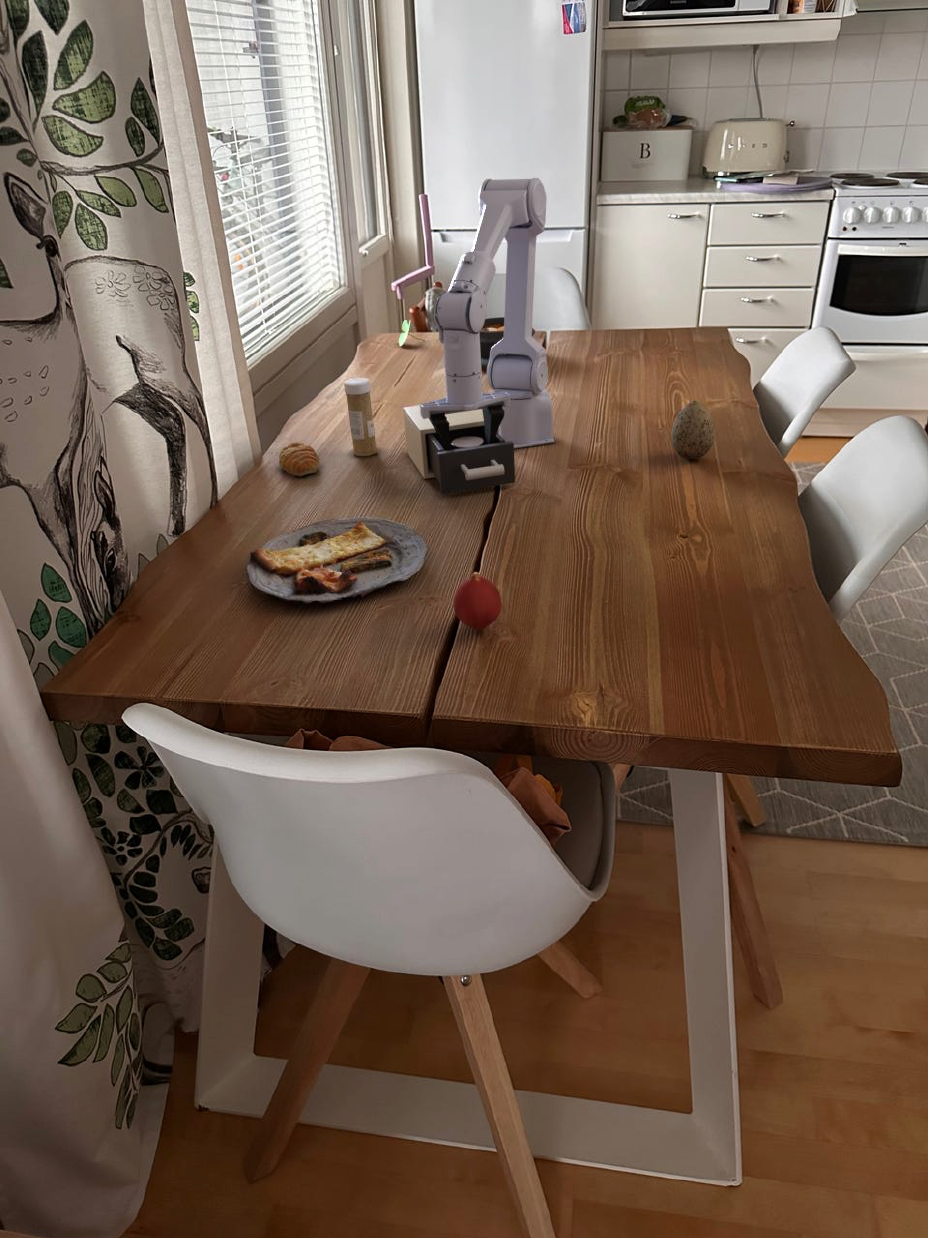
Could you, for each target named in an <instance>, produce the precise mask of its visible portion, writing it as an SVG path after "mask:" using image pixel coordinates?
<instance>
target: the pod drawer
mask: <svg viewBox="0 0 928 1238" xmlns="http://www.w3.org/2000/svg"><path fill="white" fill-rule="evenodd" d="M499 434H500V433H499ZM499 434H498V433H497V434H496V438H495V442H494V444H488V445H485V426H484V425H483V426H476V427H469V428H463V429H456V430H449V443H450V450H449V451H444V449H443V447H442V446H441V443H440V440H439V437H438V435H437V433H436V432H435V433H429V434H425V435H426V447H427V459H428V467H429V468H430V470H431V471H432V473H433V474H434V476H435V477H434V478H436V480H437V482H438V483H439V492H440V494H441V495H449V494H454V493H460V492H466V491H472V490H473V491H474V490H478V489H485V488H491V487H498V486H503V485H510V484H515V483H516V471H515V467H516V466H515V465H516V464H515V448H514V443H513V442H512V441H508V442H505V440H504V439H503V438H502V437H501V436H500V435H499ZM469 436H472V437H479V438H482V439H483V440H484V443H483V445H481V446H475V447H468V448H462V449H456V447H454V446H453V445H452V442H453V440H455V439H457V438H461V437H469Z"/></svg>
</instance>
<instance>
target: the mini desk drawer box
mask: <svg viewBox="0 0 928 1238" xmlns="http://www.w3.org/2000/svg"><path fill="white" fill-rule="evenodd" d="M402 409H403V410H402V411H403V421H404V430H405V432H404V433H405V441H406V452H407V455H408V457H409V458H410V459H411V461H412V462H413V464H414V465H415V467H416V469H417V470H418V472H419V473H420V474H421V476H422V477H423V479H432V478H436V477H435V476H434V474H433V473H432V471H431V470H430V468H429V467H428V459H427V447H426V435H425V434H429V433H435V432H436V431H435V429H434V427H433V425H432V423H431V421H430V420H429V418H427V419H423V418H422V416H421V412H420V404H419V405H412V406H406V407H403V408H402ZM445 416H446V417H447V421H448V422H449V430H456V429H463V428H469V427H476V426H483V425H484V418H483V411H482V409H480V410H473V411H466V412H459V413H452V414H445ZM497 433H498V434H500V428H499V429H498V431H497Z"/></svg>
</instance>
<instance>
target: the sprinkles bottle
mask: <svg viewBox="0 0 928 1238" xmlns="http://www.w3.org/2000/svg"><path fill="white" fill-rule="evenodd" d="M343 386H344V387H343V388H344V393H345V395H346V402H347V403H346V404H347V413H348V421H349V429H350V436H351V437H350V438H351V440H352V441H351V442H352V449H353V450H352V453H353V455H355V456H357V457H369V456H372V455H375V454H376V453H377V452H378V447H377V441H376V429H375V424H374V414H373V409H372V399H371V390H372V389H371V381H370V379H368V378H365V377H356V378H355V377H354V378H350V379H347V380H345V381H344V383H343Z"/></svg>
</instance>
